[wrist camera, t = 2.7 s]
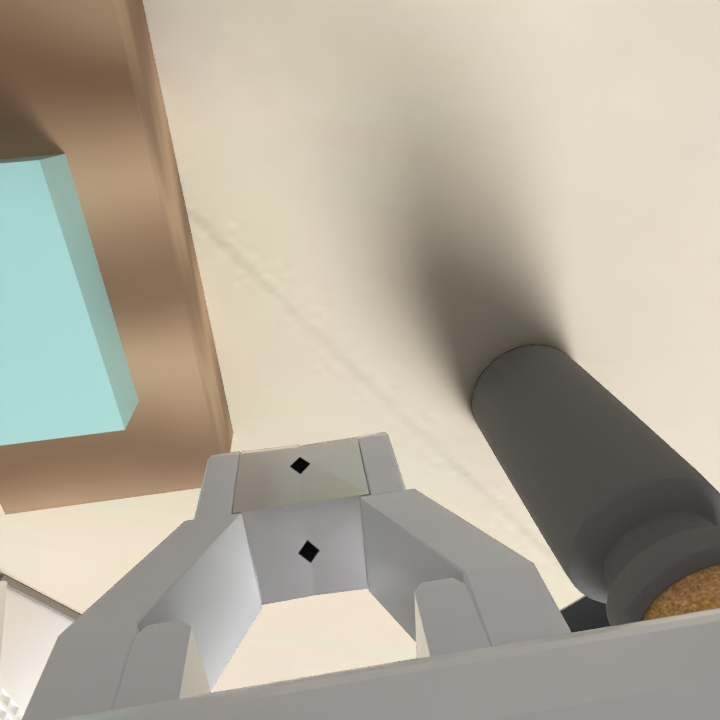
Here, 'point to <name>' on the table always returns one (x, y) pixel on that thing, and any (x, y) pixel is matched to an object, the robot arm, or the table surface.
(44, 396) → the teal rectangular block
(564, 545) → the bottle
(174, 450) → the brown wooden block
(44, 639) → the skyscraper
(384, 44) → the table surface
